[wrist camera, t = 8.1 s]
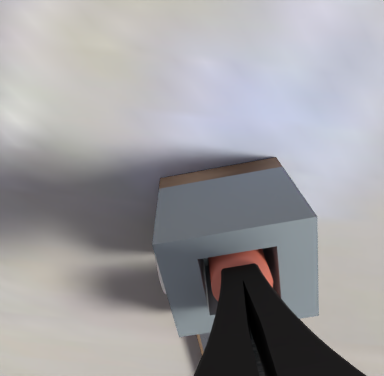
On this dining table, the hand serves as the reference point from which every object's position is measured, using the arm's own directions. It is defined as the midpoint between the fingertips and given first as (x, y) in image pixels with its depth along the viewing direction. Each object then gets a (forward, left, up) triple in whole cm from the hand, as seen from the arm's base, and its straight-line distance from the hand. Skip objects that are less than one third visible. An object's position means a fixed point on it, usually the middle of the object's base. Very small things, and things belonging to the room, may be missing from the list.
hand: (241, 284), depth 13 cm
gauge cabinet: (0, 0, -5) cm, 5 cm away
